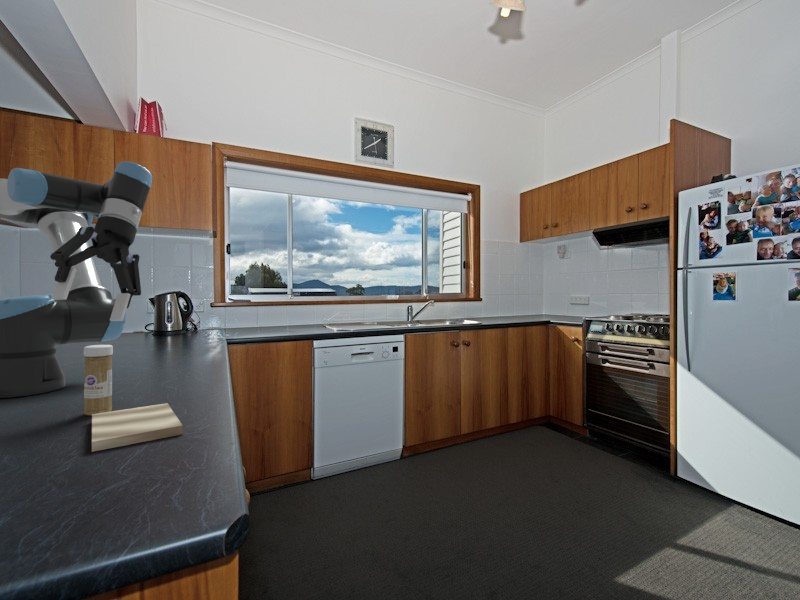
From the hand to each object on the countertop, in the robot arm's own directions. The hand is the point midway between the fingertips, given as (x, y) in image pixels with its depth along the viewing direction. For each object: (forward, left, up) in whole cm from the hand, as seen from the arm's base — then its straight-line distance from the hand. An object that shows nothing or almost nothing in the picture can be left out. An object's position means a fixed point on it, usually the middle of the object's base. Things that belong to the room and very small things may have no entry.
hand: (89, 310), depth 81 cm
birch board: (+22, +6, -20) cm, 30 cm away
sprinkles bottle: (+7, +1, -20) cm, 21 cm away
